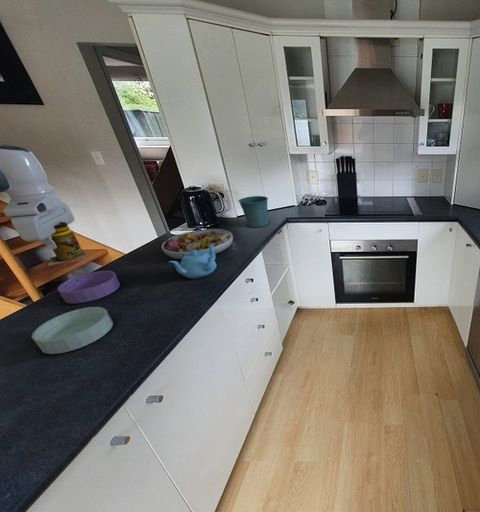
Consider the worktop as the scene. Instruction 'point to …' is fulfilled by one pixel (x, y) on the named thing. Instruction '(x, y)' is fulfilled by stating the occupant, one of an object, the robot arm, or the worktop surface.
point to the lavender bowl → (89, 287)
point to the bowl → (197, 242)
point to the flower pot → (255, 210)
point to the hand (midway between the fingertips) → (60, 243)
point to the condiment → (65, 245)
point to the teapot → (196, 263)
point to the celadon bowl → (72, 330)
